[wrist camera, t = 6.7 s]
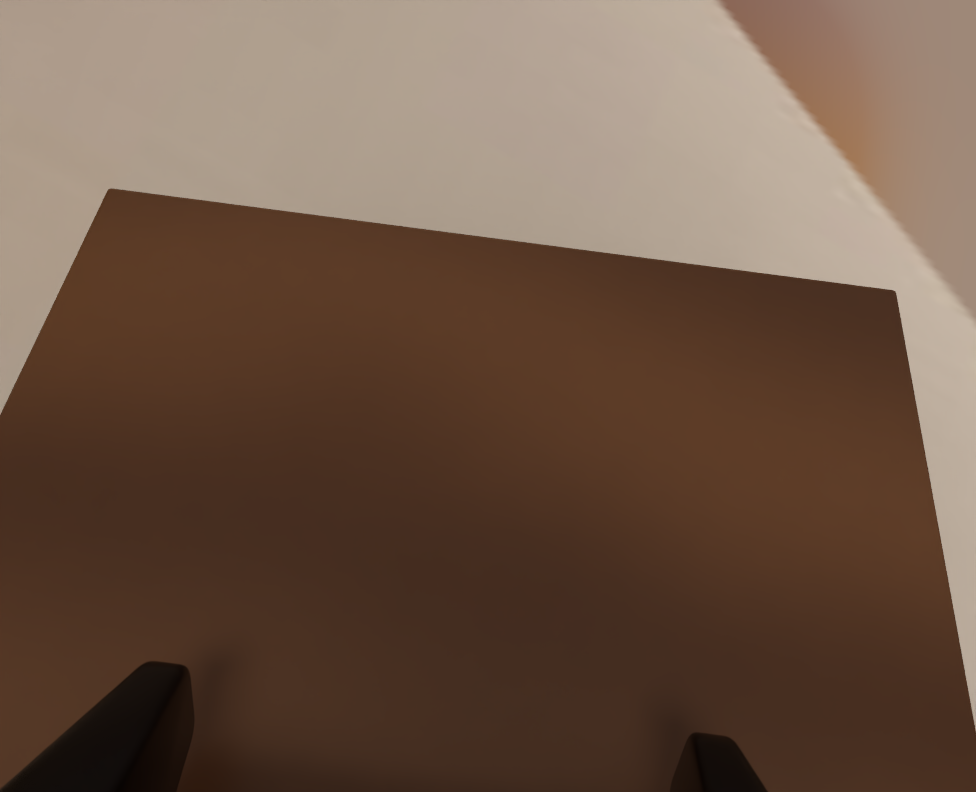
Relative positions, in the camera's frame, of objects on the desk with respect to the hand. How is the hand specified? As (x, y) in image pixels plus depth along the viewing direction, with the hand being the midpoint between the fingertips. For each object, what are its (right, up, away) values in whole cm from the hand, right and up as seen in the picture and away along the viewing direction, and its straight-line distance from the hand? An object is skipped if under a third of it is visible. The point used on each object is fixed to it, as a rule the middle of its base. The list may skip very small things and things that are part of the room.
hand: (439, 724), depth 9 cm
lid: (0, 0, +3) cm, 3 cm away
